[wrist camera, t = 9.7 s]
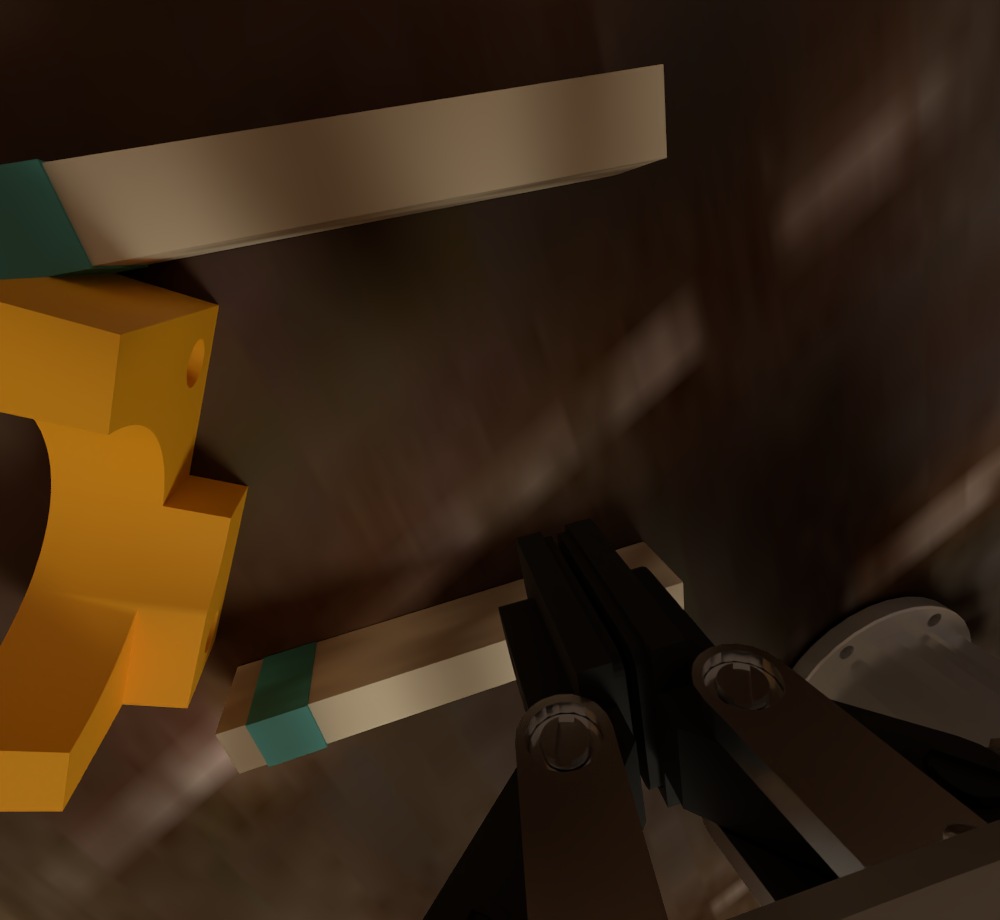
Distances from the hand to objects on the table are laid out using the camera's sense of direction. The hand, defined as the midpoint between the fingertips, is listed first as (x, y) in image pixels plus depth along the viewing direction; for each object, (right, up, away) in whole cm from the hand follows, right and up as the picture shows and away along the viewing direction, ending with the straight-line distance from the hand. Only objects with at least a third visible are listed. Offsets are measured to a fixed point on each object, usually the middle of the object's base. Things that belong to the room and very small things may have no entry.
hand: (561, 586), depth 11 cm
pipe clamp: (-12, +2, +6) cm, 13 cm away
